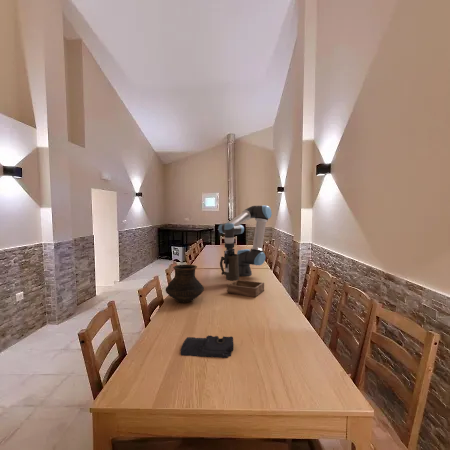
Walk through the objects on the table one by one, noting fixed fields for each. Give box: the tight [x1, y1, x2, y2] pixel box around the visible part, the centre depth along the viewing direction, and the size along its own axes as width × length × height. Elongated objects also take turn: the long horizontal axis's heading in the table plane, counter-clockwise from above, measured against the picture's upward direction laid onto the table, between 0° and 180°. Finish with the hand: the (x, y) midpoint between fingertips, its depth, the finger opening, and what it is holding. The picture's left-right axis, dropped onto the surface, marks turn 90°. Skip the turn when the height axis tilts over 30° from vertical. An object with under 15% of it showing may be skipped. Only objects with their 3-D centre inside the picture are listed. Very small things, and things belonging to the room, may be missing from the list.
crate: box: [226, 279, 265, 298], centre depth 205 cm, size 17×21×6 cm
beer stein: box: [219, 253, 240, 282], centre depth 225 cm, size 15×11×20 cm
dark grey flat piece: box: [179, 335, 235, 359], centre depth 121 cm, size 15×22×5 cm
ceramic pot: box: [165, 264, 205, 303], centre depth 185 cm, size 24×24×22 cm
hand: (229, 270), depth 226 cm, fingers closed on beer stein, 9 cm apart
